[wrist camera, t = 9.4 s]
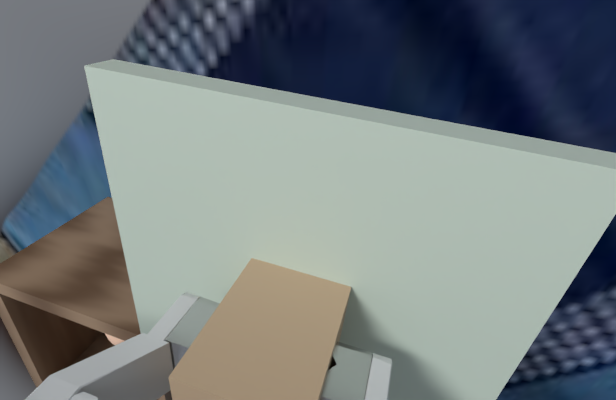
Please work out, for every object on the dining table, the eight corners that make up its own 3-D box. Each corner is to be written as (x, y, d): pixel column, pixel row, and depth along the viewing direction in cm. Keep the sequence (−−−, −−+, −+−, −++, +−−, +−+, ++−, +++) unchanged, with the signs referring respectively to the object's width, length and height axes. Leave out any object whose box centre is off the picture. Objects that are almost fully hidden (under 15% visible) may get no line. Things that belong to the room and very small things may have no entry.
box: (241, 234, 27) (153, 340, 19) (242, 339, 34) (176, 453, 25) (107, 196, 30) (-21, 276, 22) (131, 300, 36) (39, 392, 28)
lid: (619, 153, 8) (833, 352, 3) (444, 450, 14) (446, 643, 10) (112, 59, 10) (-113, 108, 6) (162, 347, 17) (70, 466, 12)
